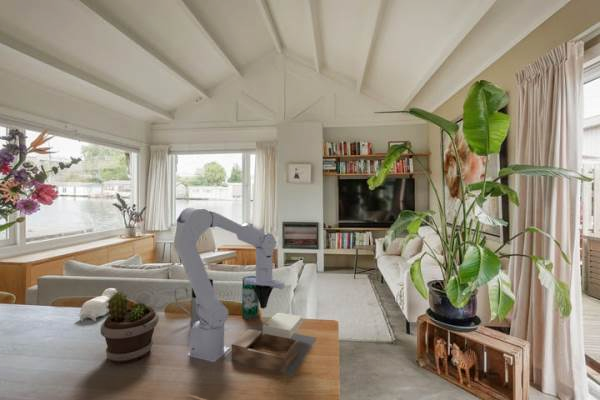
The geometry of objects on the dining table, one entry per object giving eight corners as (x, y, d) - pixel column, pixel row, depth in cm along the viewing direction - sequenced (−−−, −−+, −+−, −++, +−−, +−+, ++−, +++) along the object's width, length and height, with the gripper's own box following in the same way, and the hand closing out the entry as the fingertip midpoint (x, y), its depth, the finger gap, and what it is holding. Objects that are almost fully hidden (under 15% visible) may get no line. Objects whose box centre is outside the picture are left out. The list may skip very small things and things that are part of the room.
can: (240, 318, 108) (240, 279, 108) (245, 312, 114) (246, 275, 114) (255, 319, 107) (255, 280, 107) (259, 313, 113) (260, 276, 113)
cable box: (231, 360, 79) (231, 344, 79) (249, 343, 88) (249, 329, 88) (284, 373, 73) (285, 356, 73) (297, 354, 83) (298, 338, 83)
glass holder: (213, 324, 102) (213, 284, 102) (171, 328, 99) (172, 286, 99) (214, 315, 110) (215, 277, 110) (176, 318, 107) (177, 279, 107)
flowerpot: (160, 338, 92) (161, 277, 92) (154, 363, 78) (155, 292, 78) (108, 345, 87) (109, 281, 87) (92, 374, 72) (93, 298, 72)
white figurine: (101, 328, 105) (126, 300, 119) (94, 310, 102) (121, 284, 116) (79, 327, 105) (107, 299, 119) (72, 309, 102) (102, 283, 116)
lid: (289, 338, 83) (289, 330, 83) (262, 333, 86) (263, 325, 86) (302, 323, 93) (302, 315, 93) (277, 319, 96) (277, 311, 96)
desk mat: (221, 360, 79) (221, 359, 79) (258, 327, 100) (258, 326, 100) (292, 378, 72) (292, 376, 72) (316, 338, 93) (316, 337, 93)
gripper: (288, 267, 96) (287, 306, 96) (251, 263, 101) (250, 300, 101) (279, 271, 90) (279, 313, 90) (241, 267, 95) (240, 307, 95)
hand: (263, 307), depth 95 cm, fingers closed
